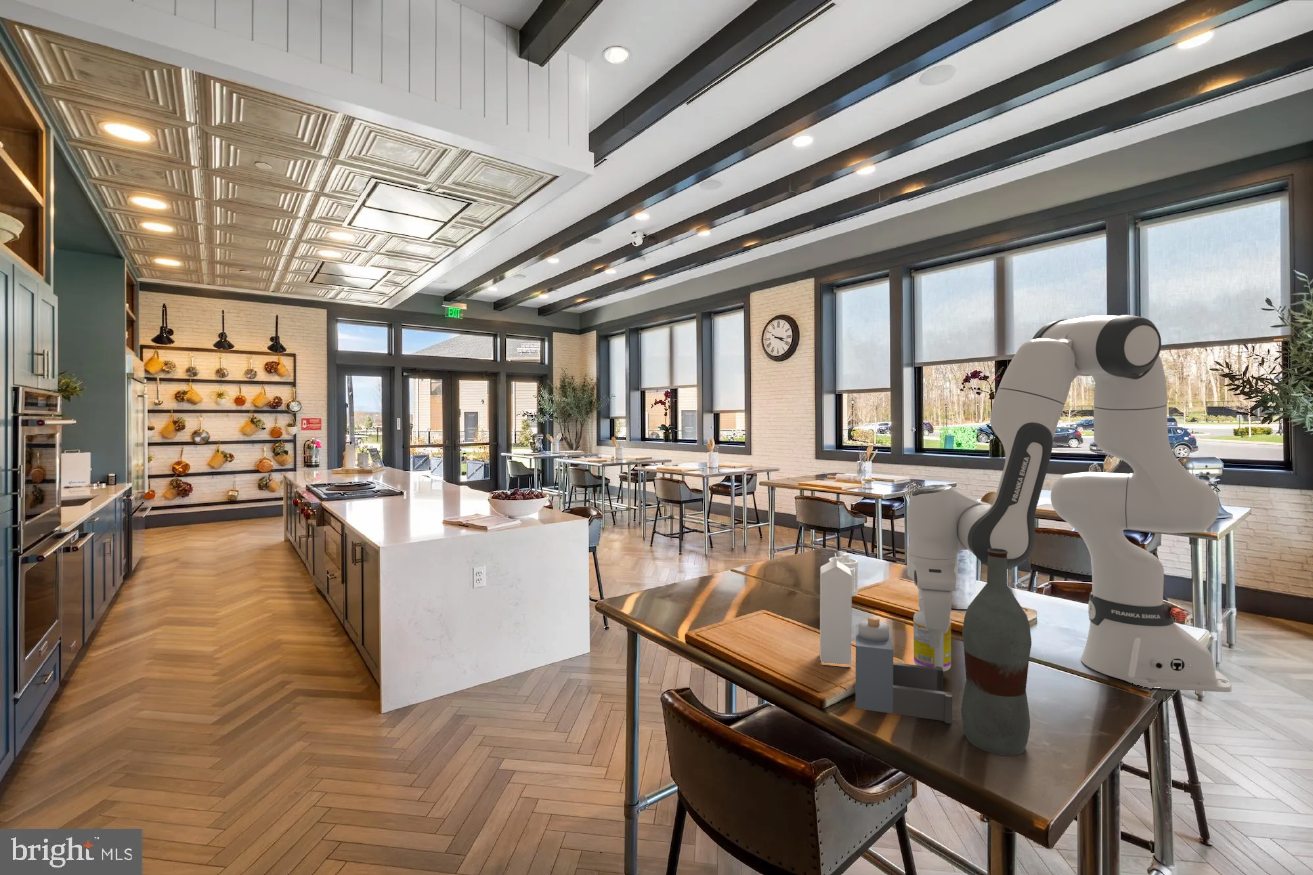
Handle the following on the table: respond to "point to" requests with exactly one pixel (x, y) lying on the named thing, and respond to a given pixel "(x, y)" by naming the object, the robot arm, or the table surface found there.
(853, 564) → the white container
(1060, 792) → the table surface
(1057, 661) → the table surface
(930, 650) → the supplement bottle
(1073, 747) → the table surface
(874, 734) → the table surface
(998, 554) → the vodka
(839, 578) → the milk
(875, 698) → the grey bottle caddy
